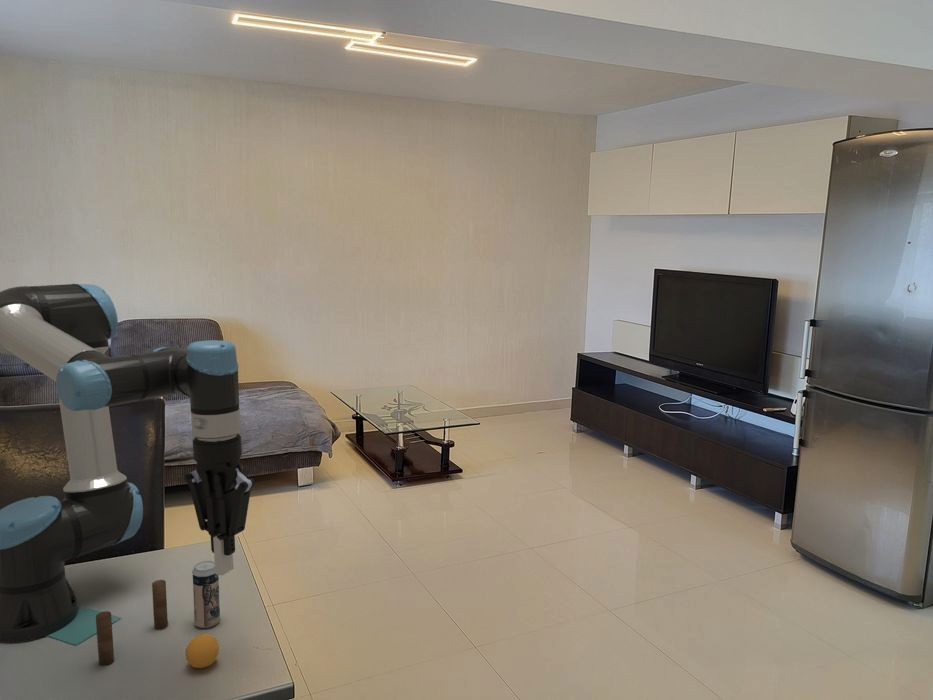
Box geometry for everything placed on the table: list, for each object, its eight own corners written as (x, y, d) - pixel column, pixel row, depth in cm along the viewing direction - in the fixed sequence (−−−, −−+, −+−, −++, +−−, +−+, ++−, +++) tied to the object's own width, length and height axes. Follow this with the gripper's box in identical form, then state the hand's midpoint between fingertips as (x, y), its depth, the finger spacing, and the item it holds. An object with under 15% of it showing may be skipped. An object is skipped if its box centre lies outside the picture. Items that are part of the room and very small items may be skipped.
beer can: (211, 631, 133) (209, 573, 131) (189, 628, 134) (186, 570, 132) (225, 618, 138) (223, 561, 136) (203, 614, 139) (201, 558, 137)
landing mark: (37, 632, 131) (37, 631, 131) (84, 607, 140) (84, 606, 140) (75, 645, 127) (75, 644, 127) (121, 618, 137) (121, 617, 136)
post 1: (95, 663, 122) (92, 616, 121) (107, 656, 125) (104, 610, 123) (105, 667, 121) (102, 619, 120) (117, 659, 124) (114, 613, 122)
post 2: (151, 627, 134) (149, 584, 132) (161, 621, 136) (158, 578, 134) (161, 630, 133) (158, 587, 131) (170, 624, 135) (168, 581, 133)
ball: (179, 669, 121) (177, 641, 120) (202, 652, 126) (200, 625, 125) (204, 678, 119) (202, 648, 118) (226, 660, 124) (225, 632, 123)
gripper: (168, 437, 113) (177, 574, 116) (232, 445, 108) (240, 588, 111) (202, 426, 120) (210, 555, 123) (264, 433, 115) (270, 568, 118)
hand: (224, 571), depth 117 cm, fingers closed
